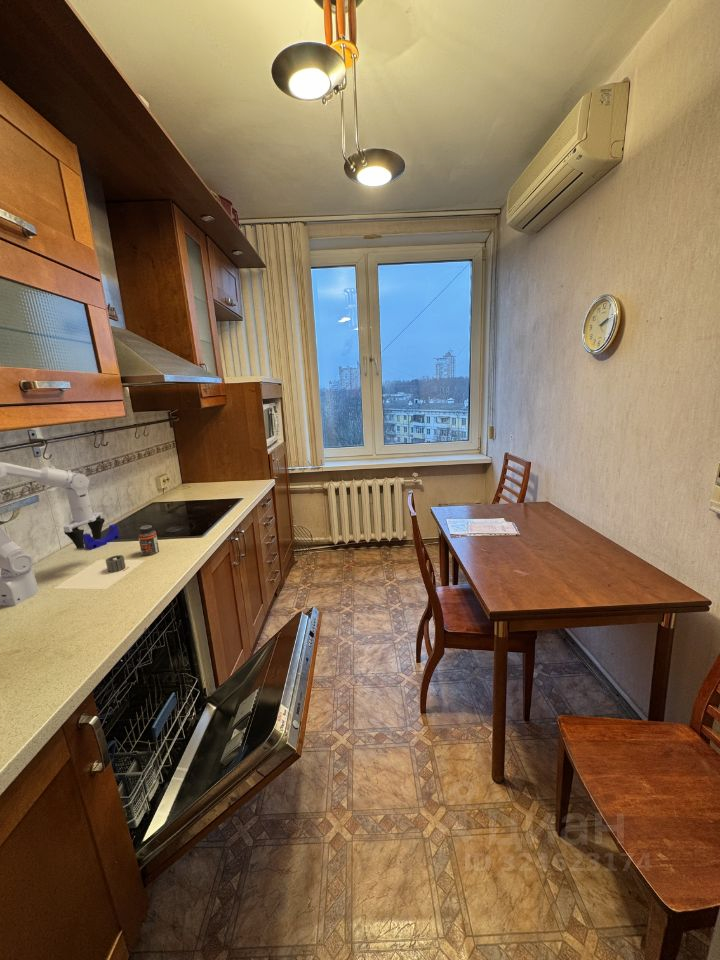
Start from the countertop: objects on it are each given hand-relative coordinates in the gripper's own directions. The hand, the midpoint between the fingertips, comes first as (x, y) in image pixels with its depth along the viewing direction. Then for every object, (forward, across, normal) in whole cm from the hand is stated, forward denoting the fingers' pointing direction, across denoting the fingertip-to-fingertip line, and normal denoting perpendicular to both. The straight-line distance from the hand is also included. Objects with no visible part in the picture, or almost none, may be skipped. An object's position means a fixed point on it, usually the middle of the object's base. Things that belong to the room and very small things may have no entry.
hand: (89, 543), depth 133 cm
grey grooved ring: (+9, -2, -10) cm, 14 cm away
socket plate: (+9, -5, -7) cm, 13 cm away
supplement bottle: (+10, +11, -14) cm, 20 cm away
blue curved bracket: (+10, +21, +13) cm, 27 cm away
